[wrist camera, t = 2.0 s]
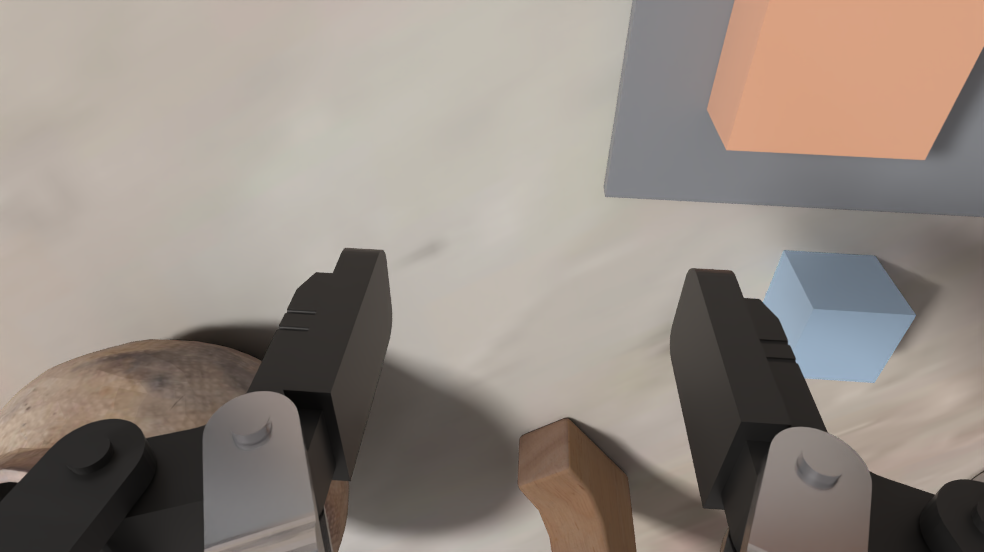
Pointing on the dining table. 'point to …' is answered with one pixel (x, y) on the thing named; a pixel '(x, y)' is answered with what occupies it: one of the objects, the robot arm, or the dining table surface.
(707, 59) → the letter board
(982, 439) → the dining table surface
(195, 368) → the ceramic bowl
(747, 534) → the robot arm
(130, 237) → the dining table surface
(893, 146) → the terracotta block
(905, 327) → the blue cube
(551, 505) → the wooden block
